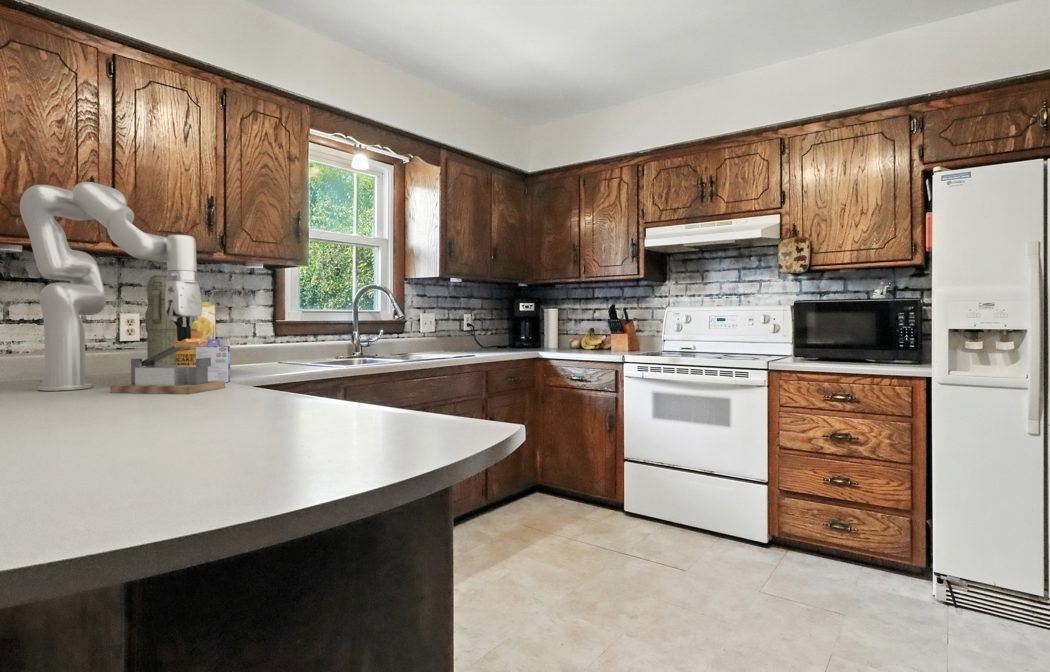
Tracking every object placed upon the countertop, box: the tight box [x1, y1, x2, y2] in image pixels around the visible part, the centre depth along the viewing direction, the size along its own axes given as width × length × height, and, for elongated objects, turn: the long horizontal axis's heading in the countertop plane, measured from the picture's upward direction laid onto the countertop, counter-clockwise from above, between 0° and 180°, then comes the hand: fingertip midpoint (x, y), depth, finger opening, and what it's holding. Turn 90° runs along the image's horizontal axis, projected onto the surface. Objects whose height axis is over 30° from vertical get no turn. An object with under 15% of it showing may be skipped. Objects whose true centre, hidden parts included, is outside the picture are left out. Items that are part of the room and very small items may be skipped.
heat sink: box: [135, 365, 196, 386], centre depth 172 cm, size 12×12×5 cm
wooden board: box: [109, 381, 226, 395], centre depth 172 cm, size 24×16×2 cm, turn 83°
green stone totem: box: [144, 275, 177, 367], centre depth 192 cm, size 9×12×35 cm
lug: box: [188, 358, 211, 385], centre depth 171 cm, size 3×5×8 cm
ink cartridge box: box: [196, 338, 232, 383], centre depth 196 cm, size 10×6×14 cm, turn 110°
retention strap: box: [142, 338, 200, 367], centre depth 172 cm, size 18×6×1 cm, turn 83°
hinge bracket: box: [130, 357, 158, 384], centre depth 173 cm, size 2×7×7 cm, turn 173°
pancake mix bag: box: [176, 300, 217, 365], centre depth 206 cm, size 7×19×28 cm, turn 118°
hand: (184, 341), depth 171 cm, fingers closed
